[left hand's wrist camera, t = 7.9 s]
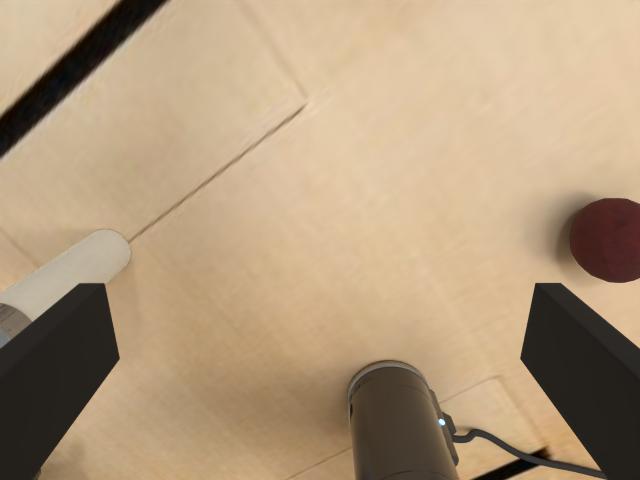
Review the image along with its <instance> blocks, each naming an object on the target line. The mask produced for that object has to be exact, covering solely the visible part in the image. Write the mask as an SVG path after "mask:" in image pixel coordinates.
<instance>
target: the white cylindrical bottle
mask: <svg viewBox="0 0 640 480" xmlns="http://www.w3.org/2000/svg"><path fill="white" fill-rule="evenodd" d="M130 258H131V249H130V246H129V244H128V242H127V241H126V239H125V238H124V237H123V236H122V235H120V234H119V233H117V232H115V231H112V230H107V229H102V230H97V231H95V232H93V233H92V234H90V235H89V236H87V237H86V238H84V239H83V240H81V241H80V242H78V243H76V244H75V245H73V246H72V247H70V248H69V249H67V250H66V251H64V252H63V253H61V254H60V255H58V256H57V257H55V258H54V259H52V260H51V261H49V262H48V263H46V264H44V265H43V266H41V267H40V268H38V269H37V270H35V271H34V272H32V273H31V274H29V275H28V276H26V277H25V278H23V279H22V280H20V281H19V282H17V283H16V284H14V285H13V286H11V287H9V288H8V289H6V290H5V291H3V292H2V293H0V303H4V304H7V305H10V306H12V307H14V308H16V309H18V310H20V311H21V312H22V313H24V314H25V315H26V316H27V317H28V318H29V319H30V320H31V321H32V322H33V321H34V320H35V319H37V318H38V317H39V316H40V315H41V314H43V313H44V312H45V311H46V310H47V309H49V308H50V307H51V306H52V305H53V304H55V303H56V302H57V301H58V300H60V299H61V298H62V297H63V296H64V295H66V294H67V293H68V292H69V291H70V290H72V289H73V288H74V287H75V286H76V285H78V284H79V283H105V285H106V284H107V283H108V282H109V281H110V280H111V279H112V278H113V277H114V276H116V275H117V274H118V273H119V272H120V271H121V270H122V269H123V268H124V267H125V266H126V265H127V264H128V263H129V261H130Z"/></svg>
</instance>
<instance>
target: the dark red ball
mask: <svg viewBox="0 0 640 480" xmlns="http://www.w3.org/2000/svg"><path fill="white" fill-rule="evenodd" d="M570 246H571V252H572V254H573V256H574V258H575V259H576V261H577V262H578V264H579V265H580V266H581V267H582V268H583V269H584V270H585V271H587V272H588V273H589V274H590V275H592V276H594V277H597V278H599V279H602V280H605V281H607V282H614V283H625V282H629V281H634V280H636V279H639V278H640V204H639V203H636V202H634V201H631V200H628V199H622V198H604V199H601V200H598V201H596V202H593V203H590V204H589V205H587V206H586V207H585V208H584V209H583V210H581V211H580V213H579V214H578V216H577V217H576V219H575V220H574V224H573V227H572V231H571V235H570Z"/></svg>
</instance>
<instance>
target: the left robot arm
mask: <svg viewBox="0 0 640 480" xmlns="http://www.w3.org/2000/svg"><path fill="white" fill-rule="evenodd" d="M119 359H120V357H119V352H118V347H117V342H116V337H115V332H114V328H113V323H112V318H111V313H110V308H109V303H108V298H107V293H106V288H105V283H79V284H78V285H76V286H75V287H74V288H73V289H72V290H70V291H69V292H68V293H67V294H66V295H64V296H63V297H62V298H61V299H60V300H58V301H57V302H56V303H55V304H53V305H52V306H51V307H50V308H49V309H47V310H46V311H45V312H44V313H43V314H41V315H40V316H39V317H38V318H37V319H35V320H34V321H33V322H32V323H31V324H29V325H28V326H27V327H26V328H25V329H23V330H22V331H21V332H20V333H18V334H17V335H16V336H15V337H14V338H12V339H11V340H10V341H9V342H8V343H6V344H5V345H4V346H3V347H2V348H0V480H32V479H33V477H34V476H35V475H36V473H37V472H38V470H39V469H40V468H41V466H42V465H43V464H44V462H45V461H46V459H47V458H48V457H49V455H50V454H51V453H52V451H53V450H54V448H55V447H56V446H57V444H58V443H59V442H60V440H61V439H62V437H63V436H64V435H65V433H66V432H67V431H68V429H69V428H70V426H71V425H72V424H73V422H74V421H75V420H76V418H77V417H78V415H79V414H80V413H81V411H82V410H83V409H84V407H85V406H86V405H87V403H88V402H89V400H90V399H91V398H92V396H93V395H94V394H95V392H96V391H97V389H98V388H99V387H100V385H101V384H102V383H103V381H104V380H105V378H106V377H107V376H108V374H109V373H110V372H111V370H112V369H113V367H114V366H115V365H116V363H117V362H118V361H119ZM520 359H521V361H522V362H523V363H524V365H525V366H526V367H527V369H528V370H529V372H530V373H531V374H532V376H533V377H534V378H535V380H536V381H537V383H538V384H539V385H540V387H541V388H542V389H543V391H544V392H545V394H546V395H547V396H548V398H549V399H550V400H551V402H552V403H553V405H554V406H555V407H556V409H557V410H558V411H559V413H560V414H561V416H562V417H563V418H564V420H565V421H566V422H567V424H568V425H569V426H570V428H571V429H572V431H573V432H574V433H575V435H576V436H577V437H578V439H579V440H580V442H581V443H582V444H583V446H584V447H585V448H586V450H587V451H588V453H589V454H590V455H591V457H592V458H593V459H594V461H595V462H596V464H597V465H598V466H599V468H600V469H601V470H602V472H603V473H604V475H605V476H606V477H607V479H608V480H640V348H638V347H637V346H636V345H635V344H634V343H632V342H631V341H630V340H629V339H628V338H626V337H625V336H624V335H623V334H622V333H620V332H619V331H618V330H617V329H615V328H614V327H613V326H612V325H611V324H609V323H608V322H607V321H606V320H605V319H603V318H602V317H601V316H600V315H599V314H597V313H596V312H595V311H594V310H593V309H591V308H590V307H589V306H588V305H587V304H585V303H584V302H583V301H582V300H580V299H579V298H578V297H577V296H576V295H574V294H573V293H572V292H571V291H570V290H568V289H567V288H566V287H565V286H564V285H562V284H561V283H535V288H534V293H533V298H532V303H531V308H530V313H529V318H528V323H527V328H526V332H525V337H524V342H523V347H522V352H521V357H520Z"/></svg>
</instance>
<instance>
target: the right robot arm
mask: <svg viewBox="0 0 640 480" xmlns="http://www.w3.org/2000/svg"><path fill="white" fill-rule="evenodd" d="M347 399H348V407H349V421H348V422H349V429H350V424H351V435H352V446H353V457H354V468H355V479H356V480H460V478H459V476H458V473H457V470H456V466H457V464H458V462H459V459H458V455H457V452H456V450H455V447H454V444H453V442H455V443H467V442H470V441H471V440H472V439H473V438H474V437H475V436H478V437H483V438H486V439H488V440H490V441H492V442H493V443H495V444H496V445H498V446H500V447H501V448H503V449H504V450H506V451H508V452H509V453H511V454H513V455H515V456H517V457H519V458H521V459H523V460H526V461H529V462H532V463H535V464H539V465H543V466H547V467H552V468H557V469H563V470H568V471H573V472H577V473H582V474H586V475H590V476H594V477H598V478H602V479H606V480H608V479H607V477H606V476H605V475H604V473H603V472H600V471H596V470H592V469H588V468H584V467H579V466H575V465H571V464H566V463H560V462H555V461H550V460H545V459H541V458H537V457H534V456H531V455H528V454H525V453H522V452H520V451H518V450H516V449H514V448H513V447H511V446H509V445H508V444H506V443H505V442H503V441H502V440H500V439H498V438H497V437H495V436H493V435H491V434H489V433H487V432H485V431H482V430H476V429H475V430H472V431H470V432H469V433H468V434H467V435H465V436H457V435H454V434H455V433H456V429H455V426H454V424H453V421H452V418H451V416H449V415H447V414H445V413H443V412H442V411H441V409H440V406H439V404H438V401H437V398H436V396H435V393H434V392H433V391H431V390H430V389H429V388H428V385H427V382H426V380H425V378H424V376H423V375H422V374H421V373H420V372H419V371H418V370H417V369H416V368H414V367H412V366H410V365H408V364H406V363H402V362H398V361H383V362H378V363H374V364H372V365H369V366H367V367H365V368H364V369H362V370H361V371H360V372H358V373H357V374H356V375H355V377H354V378H353V379H352V381H351V383H350V385H349V388H348V392H347ZM40 474H41V469H39V470H38V472H37V473H36V475H35V476H34V477H33V479H32V480H38V478H39V476H40Z"/></svg>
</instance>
